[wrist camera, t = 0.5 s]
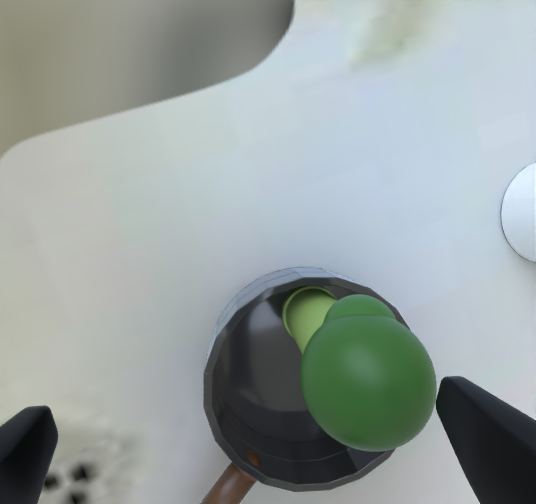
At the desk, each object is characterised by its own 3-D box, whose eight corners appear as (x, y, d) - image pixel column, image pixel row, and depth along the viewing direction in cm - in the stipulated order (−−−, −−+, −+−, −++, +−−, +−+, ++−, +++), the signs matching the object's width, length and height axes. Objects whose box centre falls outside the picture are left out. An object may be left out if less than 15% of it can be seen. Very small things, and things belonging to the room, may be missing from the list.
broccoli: (339, 358, 24) (453, 503, 12) (266, 352, 24) (304, 498, 11) (352, 271, 24) (484, 327, 11) (278, 263, 23) (330, 312, 11)
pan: (316, 475, 25) (334, 529, 21) (171, 379, 24) (156, 416, 19) (422, 335, 25) (463, 360, 21) (284, 229, 23) (296, 231, 19)
